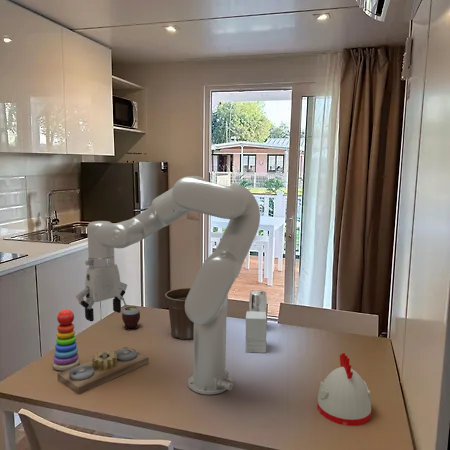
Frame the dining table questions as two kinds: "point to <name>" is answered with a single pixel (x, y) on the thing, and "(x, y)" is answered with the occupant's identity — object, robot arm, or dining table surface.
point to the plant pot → (179, 314)
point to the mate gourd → (130, 316)
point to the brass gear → (104, 361)
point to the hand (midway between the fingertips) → (103, 315)
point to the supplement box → (256, 331)
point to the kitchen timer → (344, 396)
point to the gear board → (89, 377)
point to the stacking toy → (65, 342)
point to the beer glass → (258, 301)
